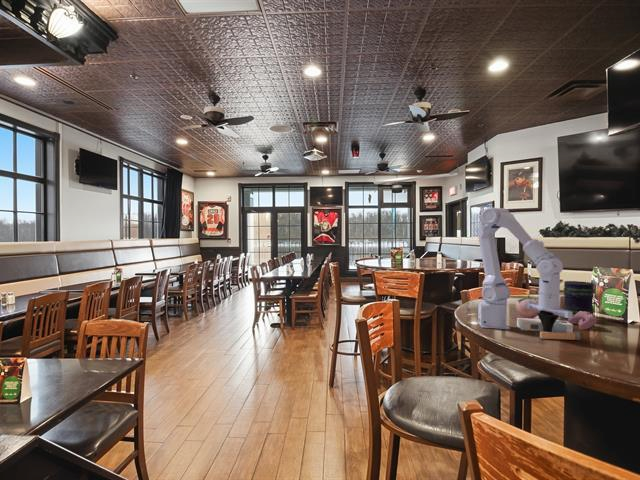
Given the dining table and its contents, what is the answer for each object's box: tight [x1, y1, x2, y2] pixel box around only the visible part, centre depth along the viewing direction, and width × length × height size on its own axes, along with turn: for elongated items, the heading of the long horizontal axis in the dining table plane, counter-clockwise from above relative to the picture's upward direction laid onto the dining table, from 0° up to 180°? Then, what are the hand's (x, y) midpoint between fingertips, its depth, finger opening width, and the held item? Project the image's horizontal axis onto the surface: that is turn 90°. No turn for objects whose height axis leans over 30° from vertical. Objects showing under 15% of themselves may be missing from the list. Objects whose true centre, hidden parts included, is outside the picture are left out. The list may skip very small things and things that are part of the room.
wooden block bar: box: [539, 330, 581, 341], centre depth 116 cm, size 12×2×2 cm, turn 83°
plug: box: [541, 321, 567, 333], centre depth 121 cm, size 5×7×4 cm
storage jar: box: [563, 280, 595, 321], centre depth 144 cm, size 10×10×15 cm
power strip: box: [516, 317, 574, 333], centre depth 128 cm, size 16×6×3 cm, turn 76°
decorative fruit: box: [515, 294, 540, 319], centre depth 143 cm, size 9×8×10 cm
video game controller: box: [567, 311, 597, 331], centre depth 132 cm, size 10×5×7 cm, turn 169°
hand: (547, 334), depth 118 cm, fingers closed, pressing on wooden block bar
